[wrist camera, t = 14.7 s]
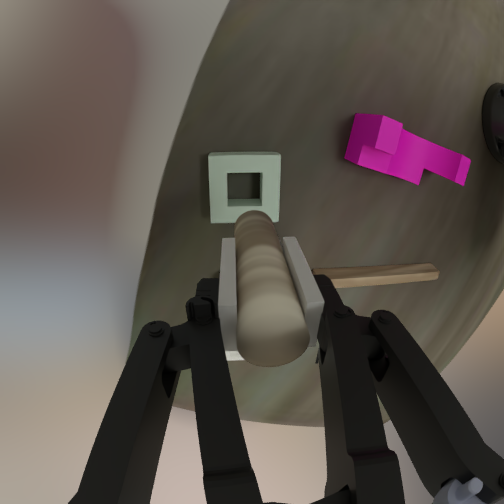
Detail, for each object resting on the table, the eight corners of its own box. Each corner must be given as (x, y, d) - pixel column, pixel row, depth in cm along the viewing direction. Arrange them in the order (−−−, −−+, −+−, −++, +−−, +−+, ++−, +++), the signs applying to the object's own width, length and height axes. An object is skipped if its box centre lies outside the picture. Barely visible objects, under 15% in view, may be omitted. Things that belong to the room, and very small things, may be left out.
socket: (210, 152, 33) (208, 155, 30) (276, 151, 33) (281, 155, 31) (212, 214, 36) (210, 223, 34) (274, 213, 37) (278, 221, 34)
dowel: (233, 210, 21) (235, 317, 10) (274, 209, 21) (314, 313, 11) (234, 247, 22) (238, 368, 12) (273, 246, 23) (305, 364, 12)
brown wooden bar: (313, 268, 41) (318, 280, 38) (430, 262, 43) (439, 271, 40) (312, 277, 42) (317, 289, 39) (428, 270, 43) (437, 279, 41)
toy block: (343, 158, 34) (368, 170, 27) (355, 113, 31) (383, 115, 25) (427, 187, 36) (457, 203, 30) (438, 149, 34) (471, 160, 27)
